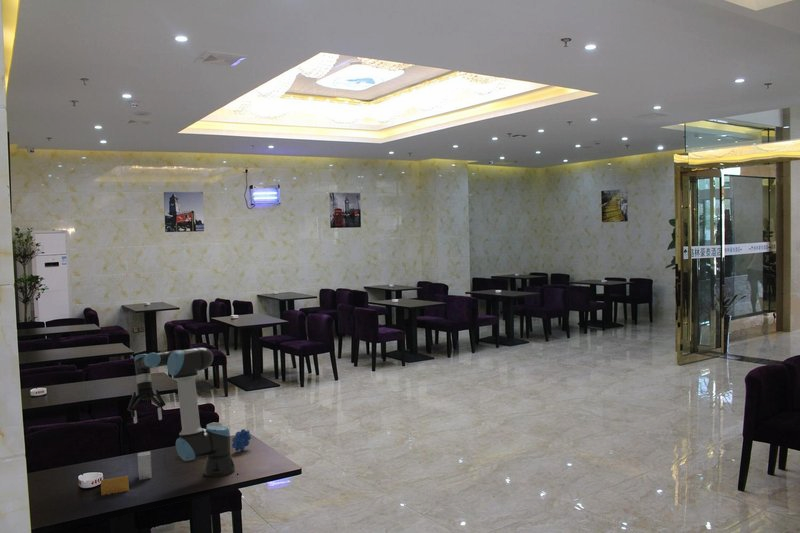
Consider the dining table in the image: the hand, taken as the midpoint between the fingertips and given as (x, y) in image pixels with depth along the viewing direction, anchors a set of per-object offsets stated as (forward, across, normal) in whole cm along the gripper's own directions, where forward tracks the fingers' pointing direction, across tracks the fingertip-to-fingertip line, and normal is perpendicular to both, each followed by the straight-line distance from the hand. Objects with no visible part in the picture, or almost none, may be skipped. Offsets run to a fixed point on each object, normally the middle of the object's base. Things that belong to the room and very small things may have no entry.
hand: (148, 421), depth 344 cm
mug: (+17, -42, -11) cm, 47 cm away
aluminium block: (+29, +10, +12) cm, 33 cm away
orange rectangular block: (+32, +26, +17) cm, 45 cm away
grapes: (+25, -45, +14) cm, 53 cm away
